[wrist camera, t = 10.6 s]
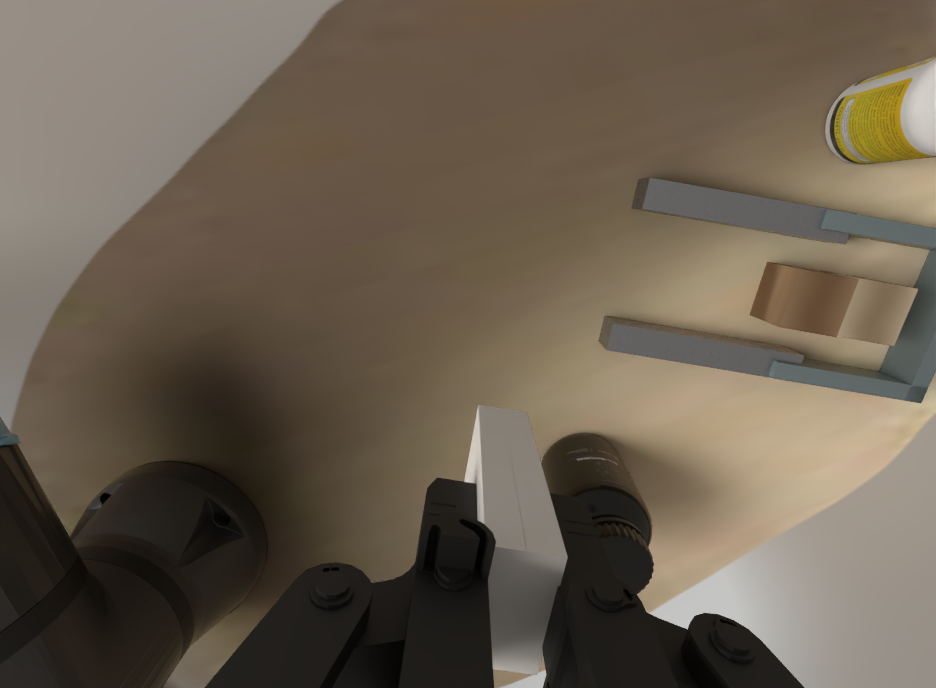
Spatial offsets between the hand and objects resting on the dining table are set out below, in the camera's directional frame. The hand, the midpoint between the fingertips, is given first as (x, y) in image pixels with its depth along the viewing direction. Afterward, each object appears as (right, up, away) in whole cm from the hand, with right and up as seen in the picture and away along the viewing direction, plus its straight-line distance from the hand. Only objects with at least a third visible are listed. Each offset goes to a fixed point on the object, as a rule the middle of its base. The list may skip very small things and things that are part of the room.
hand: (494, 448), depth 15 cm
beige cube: (+27, +6, +22) cm, 35 cm away
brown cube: (+23, +7, +22) cm, 32 cm away
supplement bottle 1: (+8, -7, +26) cm, 28 cm away
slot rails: (+17, +8, +21) cm, 28 cm away
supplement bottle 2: (+26, +18, +18) cm, 37 cm away
